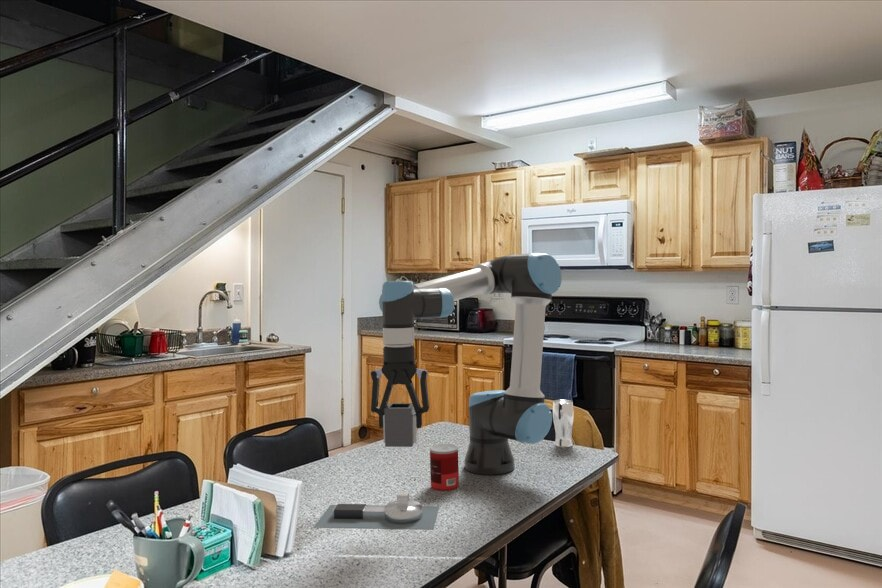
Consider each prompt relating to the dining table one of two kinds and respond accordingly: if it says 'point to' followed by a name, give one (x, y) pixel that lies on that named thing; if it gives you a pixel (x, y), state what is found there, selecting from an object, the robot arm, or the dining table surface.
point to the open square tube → (399, 425)
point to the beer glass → (563, 422)
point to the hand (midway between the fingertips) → (400, 441)
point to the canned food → (444, 467)
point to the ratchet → (382, 511)
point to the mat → (378, 521)
